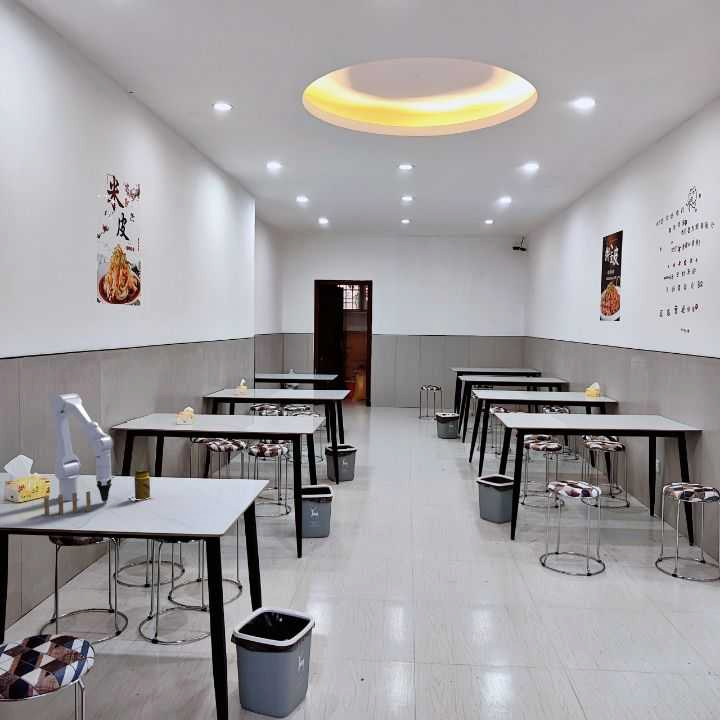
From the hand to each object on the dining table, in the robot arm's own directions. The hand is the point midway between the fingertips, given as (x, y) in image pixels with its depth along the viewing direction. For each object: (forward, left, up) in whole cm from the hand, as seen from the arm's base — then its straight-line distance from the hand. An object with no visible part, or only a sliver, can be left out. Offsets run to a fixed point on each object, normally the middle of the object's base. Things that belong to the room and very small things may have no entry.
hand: (104, 499), depth 287 cm
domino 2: (+8, -16, -2) cm, 18 cm away
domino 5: (0, 0, -2) cm, 2 cm away
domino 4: (+8, -6, -2) cm, 10 cm away
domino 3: (+8, -11, -2) cm, 14 cm away
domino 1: (+8, -21, -2) cm, 23 cm away
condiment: (-3, +14, -2) cm, 14 cm away
